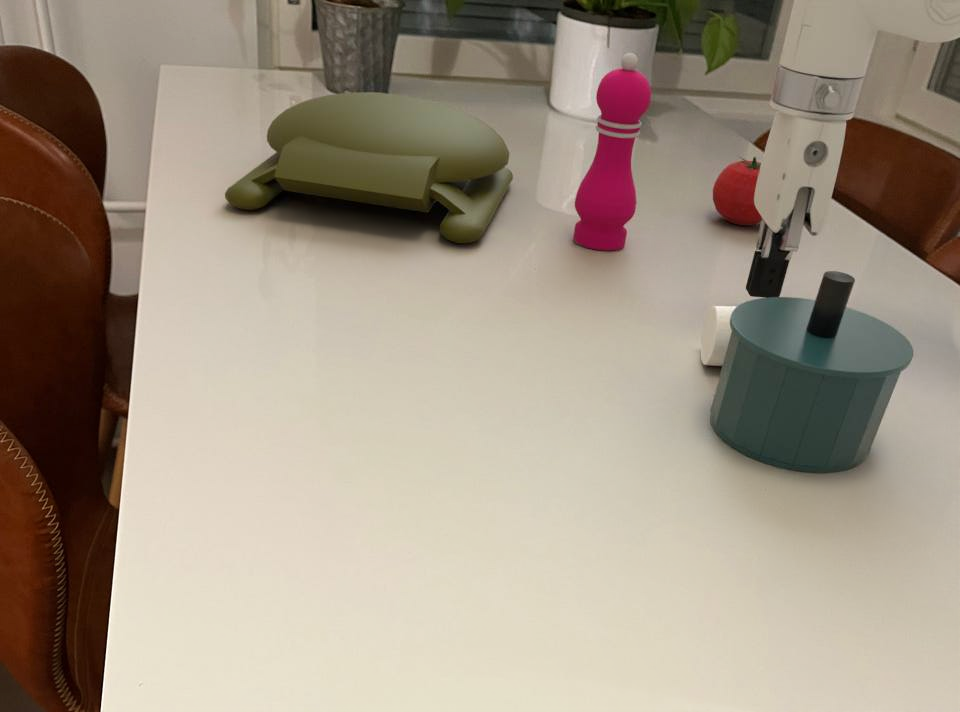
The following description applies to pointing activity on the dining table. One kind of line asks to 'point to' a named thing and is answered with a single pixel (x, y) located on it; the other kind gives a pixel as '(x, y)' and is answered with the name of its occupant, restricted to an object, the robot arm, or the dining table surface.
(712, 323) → the white bottle
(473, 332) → the dining table surface
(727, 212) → the tomato
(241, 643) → the dining table surface
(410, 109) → the spaceship
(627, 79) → the pepper mill
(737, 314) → the pot lid
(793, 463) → the pot
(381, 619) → the dining table surface
